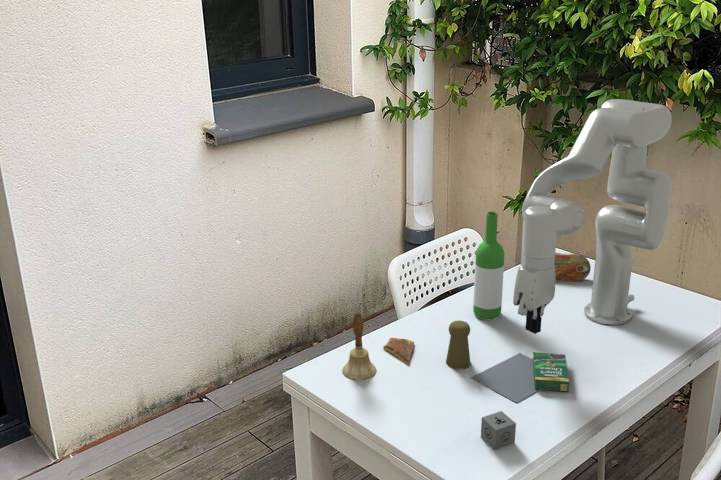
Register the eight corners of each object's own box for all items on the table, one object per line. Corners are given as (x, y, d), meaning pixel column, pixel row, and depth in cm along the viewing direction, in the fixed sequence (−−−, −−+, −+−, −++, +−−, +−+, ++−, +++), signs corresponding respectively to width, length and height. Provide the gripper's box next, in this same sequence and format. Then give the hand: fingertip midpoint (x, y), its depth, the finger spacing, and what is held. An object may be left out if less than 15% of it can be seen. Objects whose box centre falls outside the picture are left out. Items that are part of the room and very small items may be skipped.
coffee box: (567, 353, 186) (570, 382, 174) (566, 363, 187) (569, 392, 175) (533, 350, 187) (534, 378, 175) (532, 361, 188) (533, 389, 176)
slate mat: (519, 353, 192) (519, 352, 192) (565, 375, 182) (565, 375, 182) (470, 378, 182) (470, 377, 181) (516, 403, 171) (516, 402, 171)
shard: (408, 366, 188) (408, 360, 187) (378, 363, 189) (378, 357, 189) (415, 345, 198) (415, 339, 197) (386, 342, 199) (386, 336, 199)
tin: (538, 279, 234) (540, 254, 231) (538, 275, 237) (540, 250, 234) (589, 282, 232) (592, 256, 229) (588, 278, 234) (590, 252, 231)
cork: (456, 354, 192) (457, 315, 188) (475, 362, 188) (477, 322, 184) (440, 362, 188) (442, 323, 184) (460, 371, 184) (461, 331, 180)
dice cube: (494, 450, 156) (496, 430, 154) (480, 437, 160) (481, 417, 158) (514, 443, 158) (516, 423, 156) (500, 430, 162) (501, 410, 160)
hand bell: (370, 382, 181) (370, 322, 175) (337, 377, 183) (336, 317, 177) (380, 364, 188) (380, 306, 182) (348, 360, 190) (347, 302, 185)
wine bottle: (487, 323, 207) (493, 220, 196) (467, 313, 213) (471, 212, 202) (506, 315, 212) (513, 213, 201) (486, 305, 217) (491, 206, 207)
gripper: (545, 246, 181) (540, 315, 187) (503, 264, 172) (499, 335, 179) (571, 256, 175) (565, 326, 182) (529, 274, 166) (525, 347, 173)
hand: (532, 330), depth 180 cm, fingers closed
